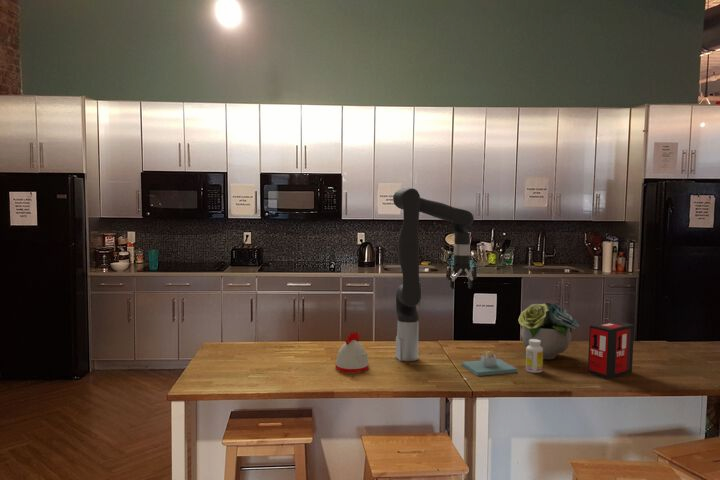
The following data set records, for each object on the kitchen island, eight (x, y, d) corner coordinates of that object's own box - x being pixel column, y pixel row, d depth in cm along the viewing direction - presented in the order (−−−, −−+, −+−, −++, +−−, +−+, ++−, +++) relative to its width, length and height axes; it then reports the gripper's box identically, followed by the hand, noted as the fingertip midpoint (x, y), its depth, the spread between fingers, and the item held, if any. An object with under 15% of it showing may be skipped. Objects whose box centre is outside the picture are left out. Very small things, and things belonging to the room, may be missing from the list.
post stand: (477, 375, 215) (477, 357, 215) (461, 365, 229) (462, 348, 228) (516, 372, 220) (517, 354, 219) (499, 362, 234) (499, 345, 233)
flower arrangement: (548, 347, 258) (549, 296, 256) (586, 362, 235) (589, 307, 233) (504, 352, 249) (506, 300, 247) (540, 368, 226) (542, 310, 224)
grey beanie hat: (375, 367, 226) (375, 332, 224) (352, 375, 215) (352, 338, 214) (351, 360, 235) (351, 326, 234) (328, 367, 225) (328, 332, 224)
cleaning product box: (611, 366, 228) (613, 320, 227) (631, 372, 221) (634, 324, 219) (587, 373, 220) (589, 325, 218) (607, 379, 212) (609, 329, 211)
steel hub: (485, 368, 221) (486, 358, 220) (478, 363, 226) (479, 354, 226) (498, 366, 222) (499, 357, 222) (491, 362, 228) (491, 353, 228)
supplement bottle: (542, 369, 224) (543, 339, 223) (542, 374, 218) (543, 343, 217) (525, 367, 226) (526, 337, 225) (525, 372, 220) (526, 341, 219)
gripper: (472, 252, 253) (471, 286, 254) (444, 253, 249) (443, 287, 251) (479, 254, 246) (478, 289, 247) (450, 255, 242) (450, 290, 243)
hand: (461, 288), depth 249 cm, fingers open, 8 cm apart
